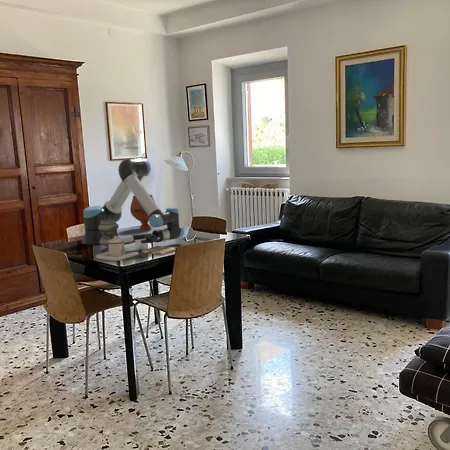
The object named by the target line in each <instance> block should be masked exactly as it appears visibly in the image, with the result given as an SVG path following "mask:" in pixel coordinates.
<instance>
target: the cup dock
mask: <svg viewBox="0 0 450 450" xmlns="http://www.w3.org/2000/svg"><path fill="white" fill-rule="evenodd" d="M137 255H139V251H135V252H131V253H128V254H127V253H126V254H125V255H123V256H120V257H109V252H102V253H98V252H97V253H96V254H95V259H100V260H109V261H116V262H118V261H121V260H125V259H128V258H132V257H135V256H137Z"/></svg>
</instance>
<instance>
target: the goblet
mask: <svg viewBox="0 0 450 450" xmlns="http://www.w3.org/2000/svg"><path fill="white" fill-rule="evenodd" d="M149 195H150V196H151V198H152V199H153V201H154V202H155V203H156V201H155V199H154V197H153V194H149ZM129 209H130V214H131V216H132V217H133V218H134V219H136V220H137V221H139V222H140V224H141V225H140V226H139V231H145V230H147V231H148V230H151V229H152V226H151V225H150V224H149V218H150V217H149V216H148V214H147V213H146V211H145V210H144V208H143V207H142V205H141V204H140V203H139V201H138V200H137V198H136V197H135V195H133V196H132V199H131V203H130V207H129Z"/></svg>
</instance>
